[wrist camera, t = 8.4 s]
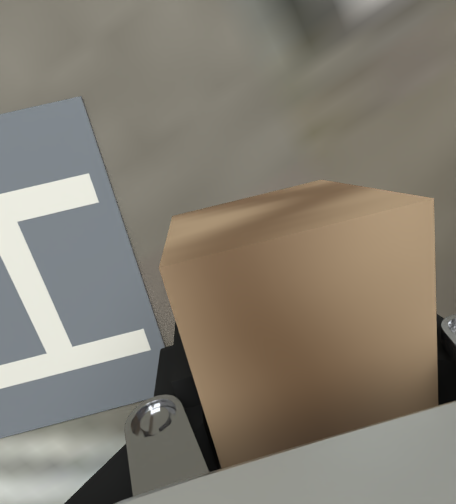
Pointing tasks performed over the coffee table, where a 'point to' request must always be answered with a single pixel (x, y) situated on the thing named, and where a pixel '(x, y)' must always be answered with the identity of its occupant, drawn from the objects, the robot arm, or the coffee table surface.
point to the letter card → (66, 277)
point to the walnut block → (305, 312)
